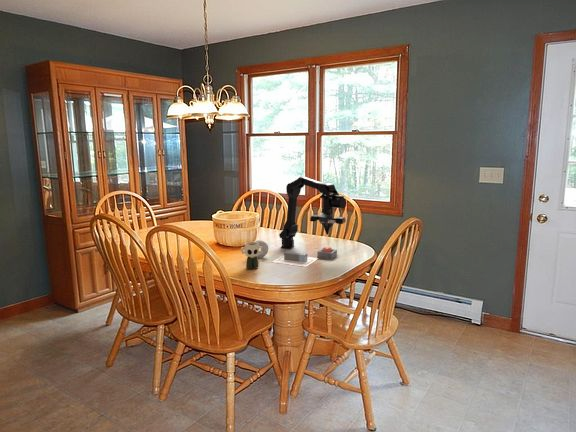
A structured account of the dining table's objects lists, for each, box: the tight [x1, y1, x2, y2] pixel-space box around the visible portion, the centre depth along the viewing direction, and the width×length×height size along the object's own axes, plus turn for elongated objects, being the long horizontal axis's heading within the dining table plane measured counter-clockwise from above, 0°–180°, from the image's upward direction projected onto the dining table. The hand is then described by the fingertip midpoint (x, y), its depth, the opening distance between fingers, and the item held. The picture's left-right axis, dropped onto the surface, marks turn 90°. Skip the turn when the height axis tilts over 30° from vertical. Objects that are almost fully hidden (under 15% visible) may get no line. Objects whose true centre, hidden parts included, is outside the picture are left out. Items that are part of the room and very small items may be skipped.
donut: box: [254, 239, 269, 259], centre depth 234 cm, size 10×3×10 cm, turn 99°
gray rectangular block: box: [283, 251, 308, 262], centre depth 230 cm, size 12×4×4 cm, turn 64°
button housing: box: [316, 247, 338, 260], centre depth 237 cm, size 8×8×4 cm
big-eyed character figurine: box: [240, 241, 263, 270], centre depth 216 cm, size 11×7×13 cm, turn 101°
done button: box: [322, 246, 333, 253], centre depth 236 cm, size 5×5×4 cm
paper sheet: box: [272, 254, 320, 268], centre depth 230 cm, size 20×17×1 cm
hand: (327, 234), depth 235 cm, fingers closed
